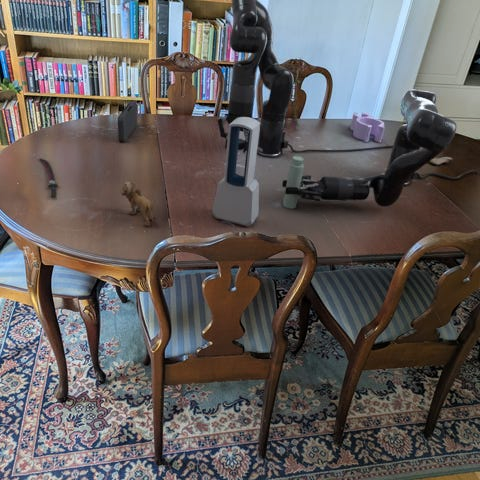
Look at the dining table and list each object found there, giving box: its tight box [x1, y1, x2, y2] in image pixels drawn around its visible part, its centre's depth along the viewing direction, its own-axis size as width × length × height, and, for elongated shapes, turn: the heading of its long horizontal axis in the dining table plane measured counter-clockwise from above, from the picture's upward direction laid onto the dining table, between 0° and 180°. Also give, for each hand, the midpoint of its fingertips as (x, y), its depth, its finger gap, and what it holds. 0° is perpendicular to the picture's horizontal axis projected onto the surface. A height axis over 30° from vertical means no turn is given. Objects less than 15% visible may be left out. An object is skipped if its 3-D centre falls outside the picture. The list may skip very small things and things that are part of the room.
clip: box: [349, 112, 386, 143], centre depth 214 cm, size 20×12×7 cm, turn 11°
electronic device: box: [211, 117, 261, 227], centre depth 132 cm, size 12×8×30 cm, turn 71°
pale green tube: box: [282, 155, 305, 209], centre depth 146 cm, size 4×4×16 cm
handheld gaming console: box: [117, 100, 138, 142], centre depth 188 cm, size 23×3×10 cm, turn 178°
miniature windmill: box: [285, 57, 302, 131], centre depth 208 cm, size 9×8×30 cm
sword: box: [40, 158, 59, 198], centre depth 151 cm, size 31×3×1 cm, turn 26°
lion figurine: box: [119, 181, 159, 227], centre depth 134 cm, size 15×5×9 cm, turn 50°
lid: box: [238, 138, 245, 151], centre depth 149 cm, size 5×5×2 cm
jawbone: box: [428, 156, 453, 166], centre depth 197 cm, size 9×20×2 cm, turn 50°
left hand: (236, 150), depth 150 cm, fingers closed on lid, 4 cm apart
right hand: (284, 187), depth 147 cm, fingers closed on pale green tube, 4 cm apart
